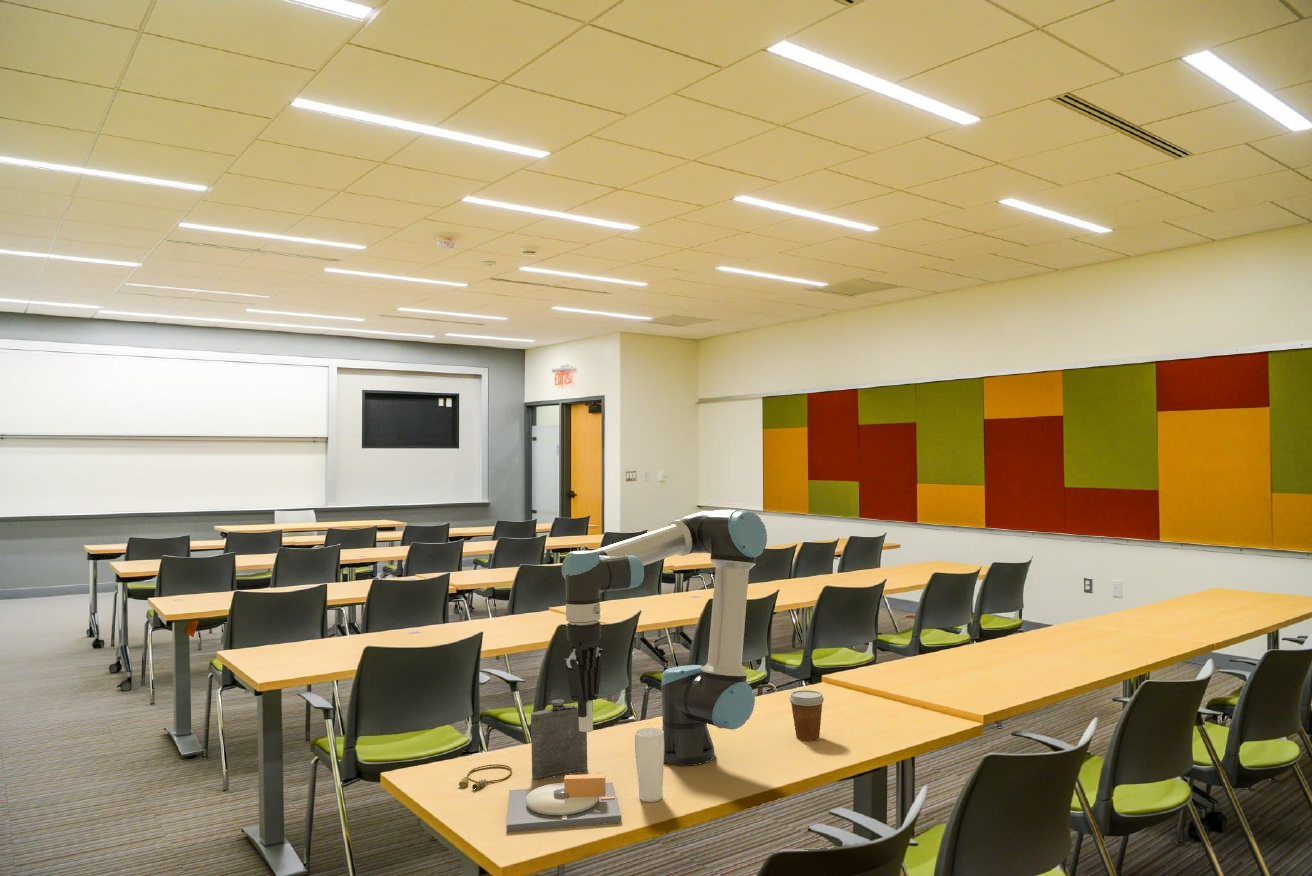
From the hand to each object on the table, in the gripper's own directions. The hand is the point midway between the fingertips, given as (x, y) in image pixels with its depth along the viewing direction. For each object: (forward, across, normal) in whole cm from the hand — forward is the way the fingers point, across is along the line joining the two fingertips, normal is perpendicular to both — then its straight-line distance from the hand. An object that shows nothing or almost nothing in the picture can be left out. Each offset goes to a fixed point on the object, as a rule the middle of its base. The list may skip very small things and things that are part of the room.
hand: (586, 730), depth 183 cm
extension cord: (+19, +9, +36) cm, 42 cm away
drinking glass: (+18, +14, -8) cm, 25 cm away
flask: (+19, +19, +21) cm, 34 cm away
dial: (+16, +1, +6) cm, 18 cm away
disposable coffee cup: (+19, +72, -26) cm, 78 cm away
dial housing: (+18, +1, +7) cm, 20 cm away
